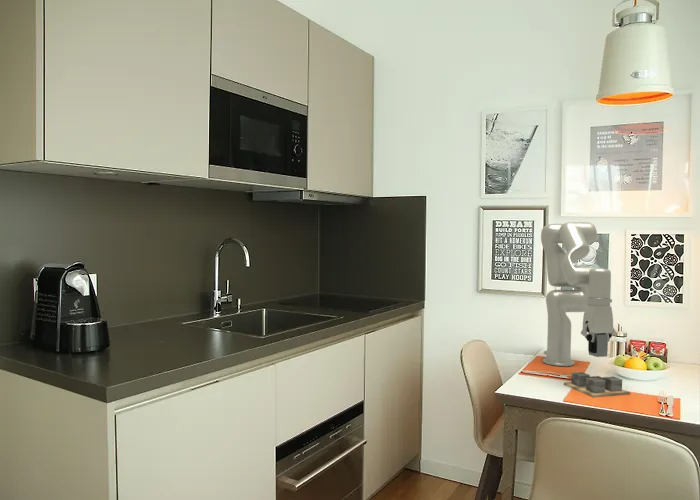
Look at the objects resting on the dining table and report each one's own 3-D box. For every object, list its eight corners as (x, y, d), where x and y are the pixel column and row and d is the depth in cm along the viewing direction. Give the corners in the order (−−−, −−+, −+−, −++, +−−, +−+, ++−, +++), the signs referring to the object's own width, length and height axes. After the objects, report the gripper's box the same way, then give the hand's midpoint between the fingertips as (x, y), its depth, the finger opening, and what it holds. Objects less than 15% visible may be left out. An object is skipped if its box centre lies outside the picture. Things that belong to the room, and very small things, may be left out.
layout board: (563, 384, 209) (564, 371, 209) (598, 382, 213) (598, 369, 213) (593, 397, 193) (593, 383, 193) (630, 394, 197) (630, 380, 197)
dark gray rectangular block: (588, 354, 209) (589, 332, 208) (598, 354, 210) (599, 332, 210) (596, 357, 204) (597, 334, 204) (607, 356, 206) (607, 334, 205)
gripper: (611, 300, 213) (609, 349, 213) (572, 301, 208) (571, 351, 209) (625, 303, 205) (624, 353, 206) (586, 304, 201) (585, 355, 201)
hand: (597, 351), depth 207 cm, fingers closed on dark gray rectangular block, 4 cm apart
